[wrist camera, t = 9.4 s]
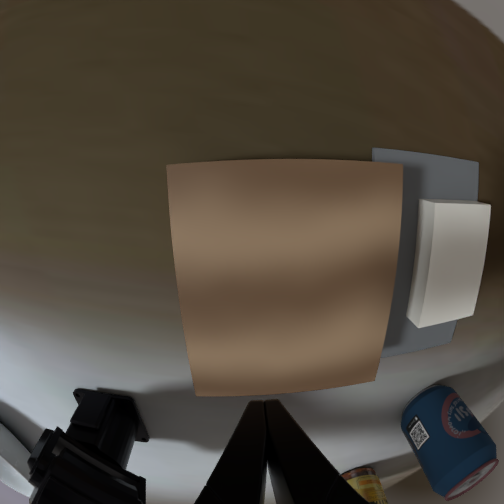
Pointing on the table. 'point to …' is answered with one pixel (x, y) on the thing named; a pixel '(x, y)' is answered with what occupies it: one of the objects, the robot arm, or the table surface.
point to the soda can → (448, 441)
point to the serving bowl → (14, 463)
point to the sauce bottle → (366, 484)
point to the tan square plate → (284, 270)
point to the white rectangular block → (447, 260)
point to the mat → (414, 188)
